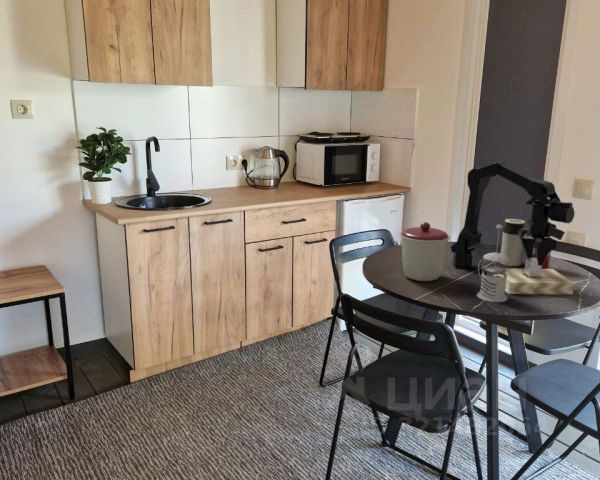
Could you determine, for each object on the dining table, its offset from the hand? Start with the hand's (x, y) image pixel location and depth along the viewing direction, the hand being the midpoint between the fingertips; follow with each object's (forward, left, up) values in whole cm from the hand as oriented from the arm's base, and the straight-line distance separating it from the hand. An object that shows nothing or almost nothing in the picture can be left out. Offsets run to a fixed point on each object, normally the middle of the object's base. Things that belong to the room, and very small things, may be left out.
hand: (534, 261), depth 182 cm
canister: (-37, +9, -10) cm, 39 cm away
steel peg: (0, 0, -9) cm, 9 cm away
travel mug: (+3, +27, -9) cm, 29 cm away
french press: (-18, -10, -10) cm, 23 cm away
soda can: (+12, +21, -10) cm, 26 cm away
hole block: (0, 0, -9) cm, 9 cm away
